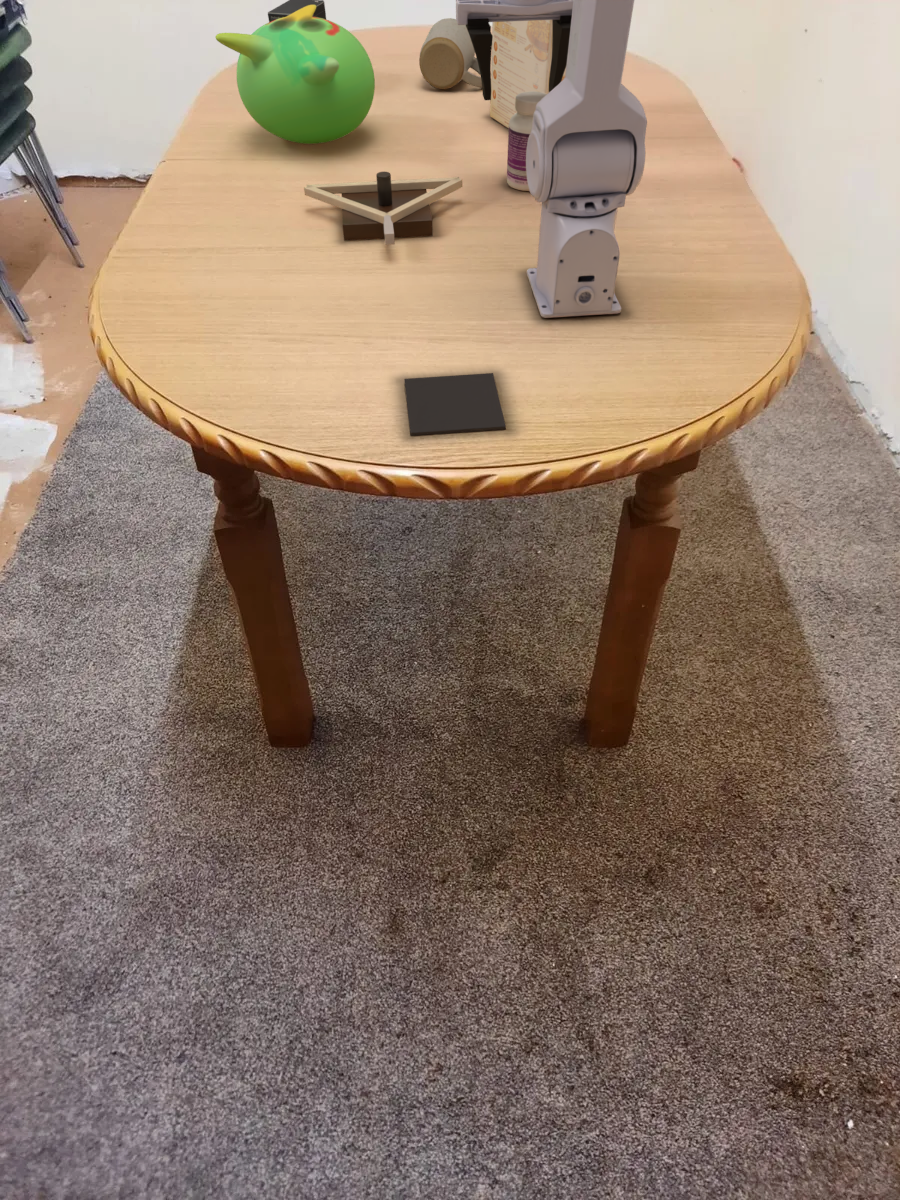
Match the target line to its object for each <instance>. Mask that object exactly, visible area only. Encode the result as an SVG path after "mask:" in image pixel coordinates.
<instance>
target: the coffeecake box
mask: <svg viewBox="0 0 900 1200" xmlns="http://www.w3.org/2000/svg"><path fill="white" fill-rule="evenodd" d="M491 34H492V36H493V38H492V50H491V100H489V103H490V104H489V117H491V118H492V119H494V120H495V121H497V122H498V123H499V124H501V125H503V126H504V127H505V128H507V129H509V121H510V119H511V117H512V116H513V115H514V114H515V113H517V111H516V109H515V101H516V96H517V95H518V94H520V93H523V92H532V91H534V92H542V93H545V94H548V93H549V77H550V68H551V60H552V20H532V21H506V22H492V26H491ZM565 75H566V68H565V71H564V74H563V77H562V80H563V79H564V78H565ZM562 80H561V81H562Z"/></svg>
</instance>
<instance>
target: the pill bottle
mask: <svg viewBox="0 0 900 1200" xmlns="http://www.w3.org/2000/svg"><path fill="white" fill-rule="evenodd" d="M546 95H547V94H545V93H542V92H534V91H532V92H523V93H520V94H518V95H517V96H516V101H515V109H516V111H517V113H515V114H514V115H513V116H512V117H511V119H510V121H509V128H508V133H507V135H508V137H507V138H508V139H507V163H506V183H507V185H508V186H509V187H510V188H512V189H515V190H518V191H523V192H530V191H529V187H528V182H527V174H526V150H527V142H528V138H529V135H530V133H531V128H532V122H533V114H534V112H535V110H536V105H537V103H538V102H539V101H540V100H541V99H542V98H543V97H545V96H546Z"/></svg>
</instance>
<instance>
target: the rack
mask: <svg viewBox="0 0 900 1200" xmlns="http://www.w3.org/2000/svg"><path fill="white" fill-rule="evenodd" d="M375 175H376V181H377V190H378V192H361V193H341V197H344V198H346V199H349V200H352V201H355V202H357V203H360V204H363V205H366V206H369V207H371V208H374V209H377V210H380V211H382V212H385V213H388V212H390V211H392V210H394V209H396V208H398V207H400V206H402V205H404V204H406V203H408V202H409V201H411V200H413V199H415V198H417V197H419V196H421V195H423V194H425V193H427V192H428V191H427V190H428V189H419V190H400V191H392V189H391V180H392V175H391V172H389V171H379V172H377V173H376V174H375ZM430 206H431V205H430V204H429V205H427V206H425V207H423V208H421V209H419V210H417V211H415V212H413V213H411V214H409V215H408V216H406V217H404V218H402V219H400V220H398V221H396V222H394V223H393V229H394V239H399V238H401V239H402V238H416V237H418V238H419V237H433V235H434V233H433V232H434V231H433V230H434V229H433V217H432V211H431V207H430ZM341 224H342V233H343V241H344V242H346V241H364V240H381V239H384V240H385V236H384V224H382V223H380V222H377V221H374V220H371V219H369V218H366V217H363V216H361V215H358V214H355V213H352V212H350V211H347V210H344V209H342V208H341Z"/></svg>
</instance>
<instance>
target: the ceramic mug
mask: <svg viewBox="0 0 900 1200" xmlns="http://www.w3.org/2000/svg"><path fill="white" fill-rule="evenodd" d="M418 62H419V63H418V64H419V65H418V66H419V69H420V72H421V74H422V77H423V79H424V80H425V81H426V82H427V83H428V84H429V85H430V86H432V87H433V88H435V89H439V90H448V89H451V88H453V87H455V86H456V85H458V84H459V83H460V82H462V81H463V82H464V83H466V84H468V85H470V86H472V87H475V88H480V89H482V81H481V76H479V75H480V70H479V66H478V61H477V58H476V54H475V51H474V47H473V44H472V41H471V38H470V35H469V33H468V30H467V28H466V25H458V24H457V21H456V18H452V17H448V18H442V19H440V20H438V21H436V22H435V23H434V24H433V25H432V26H431V28H430V30H429V32H428V34H427V36H426V38H425V39H424V42H423V44H422V46H421V49H420V52H419V60H418ZM470 69H472V70H473V71H475V72H476V73H478V75H476V74H474V73H472V72H470V71H469V70H470Z"/></svg>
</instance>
